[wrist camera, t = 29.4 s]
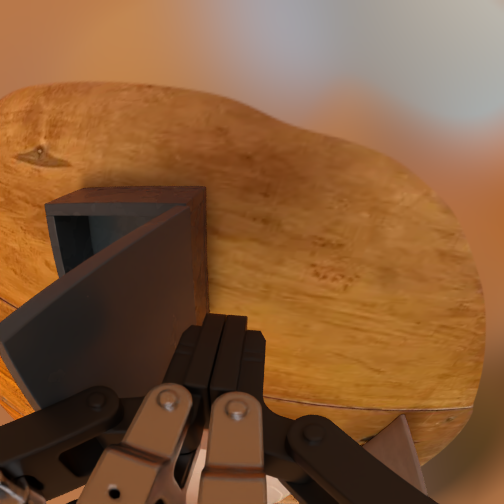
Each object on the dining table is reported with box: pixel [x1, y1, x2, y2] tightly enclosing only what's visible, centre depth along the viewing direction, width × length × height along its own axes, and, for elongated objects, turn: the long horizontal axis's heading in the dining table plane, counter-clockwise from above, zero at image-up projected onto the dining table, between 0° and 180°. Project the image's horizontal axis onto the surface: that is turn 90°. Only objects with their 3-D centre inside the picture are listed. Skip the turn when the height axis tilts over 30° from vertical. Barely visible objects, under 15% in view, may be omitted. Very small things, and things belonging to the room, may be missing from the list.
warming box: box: [45, 186, 209, 326], centre depth 19 cm, size 10×10×5 cm
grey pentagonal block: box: [362, 414, 428, 496], centre depth 22 cm, size 16×8×19 cm, turn 157°
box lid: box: [0, 206, 197, 412], centre depth 11 cm, size 11×10×1 cm
